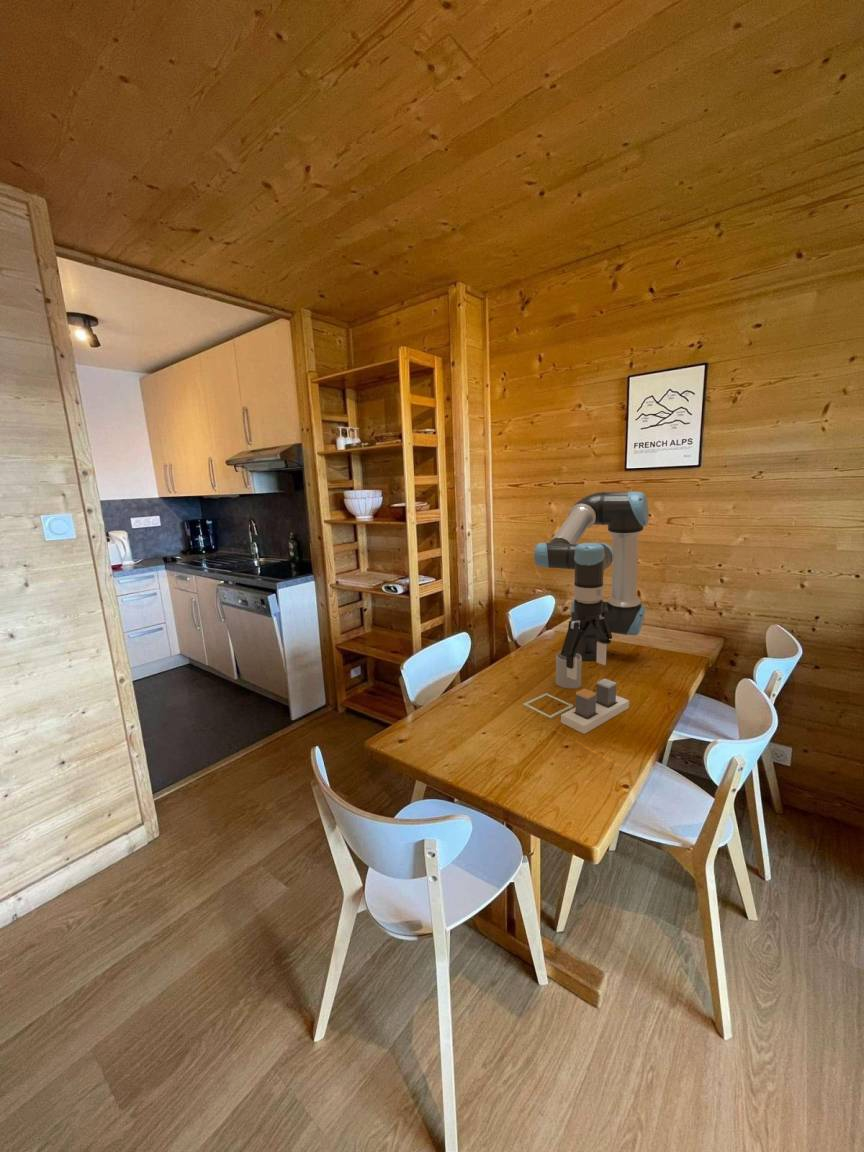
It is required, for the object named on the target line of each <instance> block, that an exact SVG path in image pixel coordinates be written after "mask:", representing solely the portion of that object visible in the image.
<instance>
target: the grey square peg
mask: <svg viewBox="0 0 864 1152" xmlns="http://www.w3.org/2000/svg"><path fill="white" fill-rule="evenodd" d="M595 690H596V692H595V693H596V703H598V704H600V705H602V706H605V707H607V708H609V707H611V706H613V705H615V704H616V695H617V682H615V681H613V680H611V679H608V678H606V677H604V678H603V679H600V680H598V681H596V689H595Z"/></svg>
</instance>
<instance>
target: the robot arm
mask: <svg viewBox="0 0 864 1152" xmlns="http://www.w3.org/2000/svg"><path fill="white" fill-rule="evenodd" d="M649 516H650V513H649V503H648V499H647V496H646V494H645V493H644V492H641V491H629V490H627V491H607V492H606V491H601V492H595V493H591V494H589V495H586V496H585V497H582V498H581V499H579V500H578V501H577V502H575V503H574V504H573V505H572V507H570V509H569V511H568V513H567V517H566V519H565V521H564V522H563V523H562V525H561V526H560V527H559V529H557V531H556V532H555V534H554V535H553V536H552V538H551V539H550V541H548V542H546V541H545V542H539V543H537V544H536V545H535V547H534V552H533V561H534V563H535V565H536V567H538V568H539V567H541V568H545V569H561V570H562V569H563V570H564V569H565V570H574V585H573V598H574V599H573V601H572V602H571V609H570V620H569V621H568V627H567V628H568V629H567V632H566V634H565V638H564V641H563V645H562V647H561V650H560V652H561V655H562V656H565V657H566V667H567V677H569V678H572V679H574V680H576V679H577V657H575V655H576V653H578V654H580V655H581V657H582V661H595V662H596V663H597V664H599V665H603V666H606V665H607V651H608V650H607V649H608V644H611V641H612V639H613V634H617V635H624V636H638V635H640V632H641V630H642V627H643V623H644V618H645V613H646V605H644V604H642V601H641V599H640V597H638V596H637V593H638V557H639V534H641V533H642V532H643V531H644V527H646V526H647V525H648V524H649V519H650V518H649ZM598 525H599V526H600V525H601V526H607V531H608V532H609V533H610V535H612V537H611V543H612V544H611V545H612V546H610V545H609V544H608V543H605V542H583V543H580V544H579V542H580V540H581V539H582V537H583V535H584V534H585V532H586V531H587V530H588V529H589V528H591V527H592V526H598ZM610 566H611V595H610V596H609V597H608V598H607V601H604V599H603V598H604V597H603V596H604V574H605V573H604V571H605V570H607V569H608V568H609V567H610Z"/></svg>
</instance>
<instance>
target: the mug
mask: <svg viewBox="0 0 864 1152" xmlns="http://www.w3.org/2000/svg"><path fill="white" fill-rule="evenodd" d="M575 657H577V679H576V680H574V679H572V678H569V677H567V667H566V657H565V656H562V655H561V651H559V652H558V653H556V656H555V686H559V687H560V688H565V689H569V690H570V689H578V688H580V687H581V685H582V665H583V660H582V657H581V655H580V654H578V653H576V655H575Z"/></svg>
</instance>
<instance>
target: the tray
mask: <svg viewBox="0 0 864 1152" xmlns="http://www.w3.org/2000/svg"><path fill="white" fill-rule="evenodd" d="M546 696H547V697H549V698H552V699H553V700H556V701H558V702H560V703H562V704H565V705H567V706H566V707H564V708H562V709H560V710H558V711H557V712H554V713H553V714H551V715H549V714H548V713H546V712H544V711H542V710H539V709H538V708H535V707H534V706H531V705H530V704H532V703H533V702H535V701H538V700H540V699H542V698H544V697H546ZM522 705H523V706H525V707H527V708H529V709H531V710H533V711H534V712H536V713H539V714H541V715H543V716H545V717H547V718H548V719H552V718H554V717H556V716H558V715H561V714H563V713H565V711H566V712H567V711H569V709H570V710H571V709H573V707H574V705H573V704H572V703H569V702H567V701H564V700H562V699H561V698H558V697H556V696H554V695H551V694H549V693H546V692H545V693H543V694H541V695H540V696H537V697H535V698H532V699H531V700H529V701H527V702H525V703H523V704H522Z"/></svg>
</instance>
